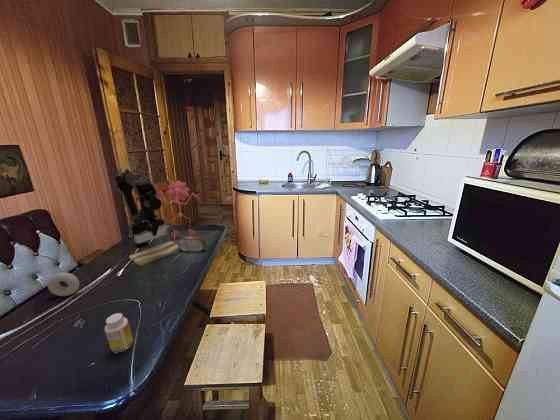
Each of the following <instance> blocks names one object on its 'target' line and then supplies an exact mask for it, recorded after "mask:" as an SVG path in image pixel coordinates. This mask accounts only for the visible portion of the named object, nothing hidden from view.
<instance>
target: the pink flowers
mask: <svg viewBox="0 0 560 420" xmlns="http://www.w3.org/2000/svg"><path fill="white" fill-rule="evenodd" d="M186 185H187V184H186V182H182V181H181V180H178V181H176V182H175V181H174V180H172V181H171V182H170V185H167V188H168V190H167V191H166V194H167V195H168V196H169V198H170V200H173V199H174V201H171V202H166V199H165V197H164V193H163V191H162V190H159V191H156V193H157V195H156V198H158V199H160V198H161V197H162V198H163V201H164V203H165V205H167V204H173V203H175V204H178V205H180V207H179V212H178V213H177V215H176V216H175V217H174V218H173V219H171V220H170V223H171V226H173V227H174V225H173V221H174V220H175V219H176V218H183V217H184V218H186V219H188V221H189V222H191V219H190V218H189V217H187V216H184V214H183V213H182V212H181V211H182V207H183V206H182V205H187V204H188V202H189V201H190V199H191V198H192V196H193V197H194V198H196V199H197V200H198V201H201V200H202V198H201V197H200V196H199V195H198V194H196V193H194V192H191V195H190V194H189V191H190V188H189V187H187V186H186ZM186 198H188V199H187V201H186ZM181 201H182V202H181ZM184 201H186V203H185V202H184ZM191 228H192V227H191V226H189V229H188V230H187V233H188V234H189V236H197V233H196V231H195V230H193V229H191ZM178 234H179V231H178V230H177V229H174V231H173V232H172V233H170V236H171V237H173V241H176V237H177V236H178Z"/></svg>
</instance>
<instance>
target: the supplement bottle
mask: <svg viewBox="0 0 560 420" xmlns="http://www.w3.org/2000/svg"><path fill="white" fill-rule="evenodd" d="M105 324H106V325H105V326H104V333H105V336H106V339H107V342H108V344H109V349H110V351H111V352H112V353H113V352H114V354H119V353H118V352H121V353H123V352H125V351H127V350H128V349H129V348H130V347H132V345H133V342H134V339H133V338H134V337H133V335H132V334H133V333H132V330H131V326H130V324H129V321H128V318H126V317H124V316H123V313H121V312H116V313H113V314H112V315H110V316H108V317H107V318H106V320H105ZM126 349H127V350H126ZM124 350H125V351H124ZM122 351H123V352H122Z"/></svg>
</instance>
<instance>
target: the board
mask: <svg viewBox="0 0 560 420" xmlns="http://www.w3.org/2000/svg"><path fill="white" fill-rule="evenodd" d="M179 251H182V250H181V249H179V247H178V244H177V243H175V242H173V241H171V240H169V241H167V242H163V243H161V244H158V245H155V246H152V247H149V248H147V249H144V250H141V251H138V252H136V253H134V254H130V255H128V258H129V260H131V261H132V262H133V263H135V264H136V265H138V266H139V267H142V266H145V265H148V264H150V263H151V262H154V261H157V260H159V259H162V258H164V257H167V256H168V255H169V256H170V255H171V254H173V253H177V252H179Z"/></svg>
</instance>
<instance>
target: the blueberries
mask: <svg viewBox="0 0 560 420" xmlns="http://www.w3.org/2000/svg"><path fill="white" fill-rule="evenodd" d="M85 323H86V324H87V320H85V319H84V318H80V319H78V320H77V321H76V322H75V323H74V324H73V326H74V328H73V329H76V328H78V327H79V328H83V327H84V326H83V325H85V326H86V324H85ZM84 328H85V327H84ZM84 328H83V329H84Z"/></svg>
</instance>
